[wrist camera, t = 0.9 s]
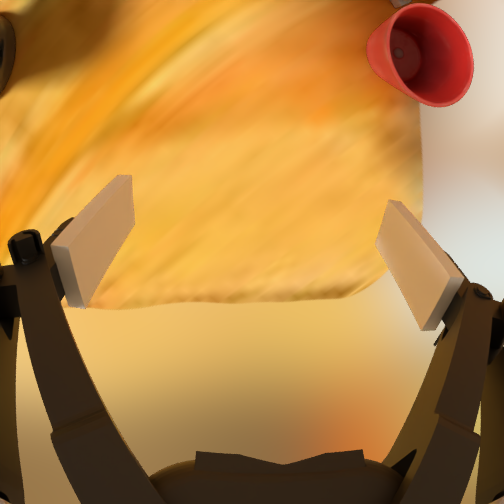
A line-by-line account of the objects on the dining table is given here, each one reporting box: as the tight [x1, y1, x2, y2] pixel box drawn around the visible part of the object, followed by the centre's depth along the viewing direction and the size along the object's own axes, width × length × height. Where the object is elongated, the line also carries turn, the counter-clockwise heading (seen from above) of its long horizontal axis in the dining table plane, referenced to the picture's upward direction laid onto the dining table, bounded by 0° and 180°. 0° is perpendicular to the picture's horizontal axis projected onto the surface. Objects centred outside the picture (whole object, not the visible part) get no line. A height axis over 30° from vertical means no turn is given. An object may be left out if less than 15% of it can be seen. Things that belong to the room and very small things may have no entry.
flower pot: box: [366, 3, 474, 107], centre depth 25 cm, size 11×11×10 cm
